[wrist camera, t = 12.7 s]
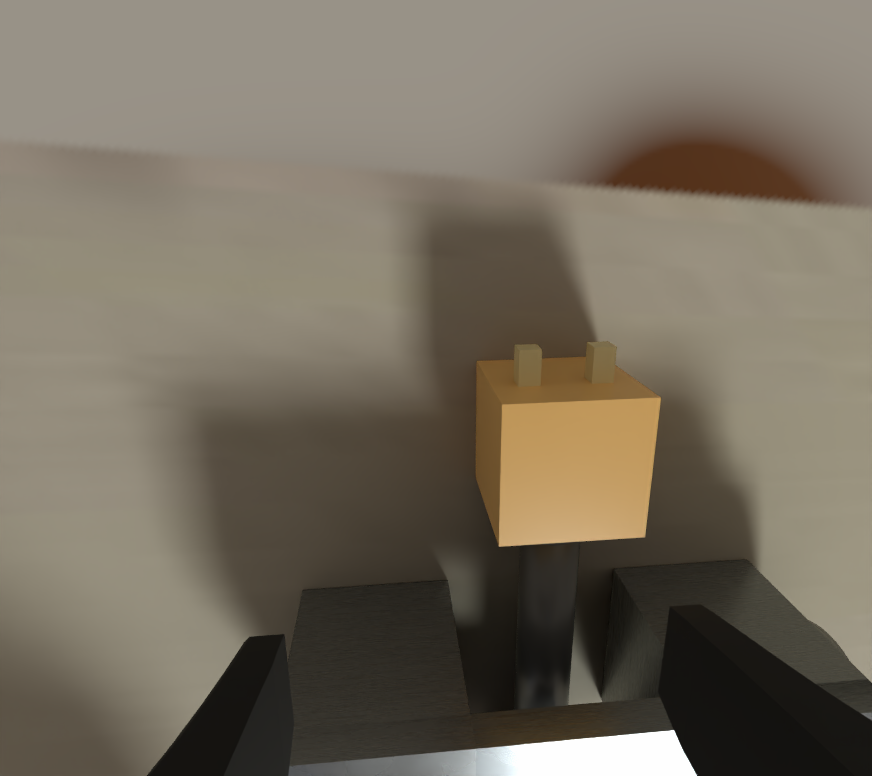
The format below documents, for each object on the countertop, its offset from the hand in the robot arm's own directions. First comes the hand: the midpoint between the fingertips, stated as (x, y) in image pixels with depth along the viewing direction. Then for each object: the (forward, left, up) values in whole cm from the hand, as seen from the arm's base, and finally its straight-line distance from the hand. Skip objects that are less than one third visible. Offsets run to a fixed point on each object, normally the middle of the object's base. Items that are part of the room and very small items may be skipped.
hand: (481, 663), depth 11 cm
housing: (-7, -3, -8) cm, 12 cm away
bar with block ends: (-5, -3, -8) cm, 10 cm away
